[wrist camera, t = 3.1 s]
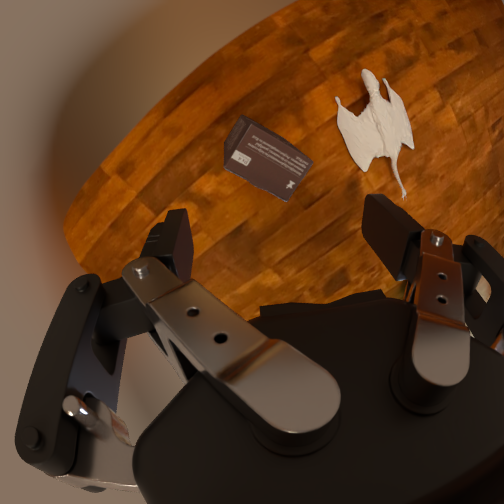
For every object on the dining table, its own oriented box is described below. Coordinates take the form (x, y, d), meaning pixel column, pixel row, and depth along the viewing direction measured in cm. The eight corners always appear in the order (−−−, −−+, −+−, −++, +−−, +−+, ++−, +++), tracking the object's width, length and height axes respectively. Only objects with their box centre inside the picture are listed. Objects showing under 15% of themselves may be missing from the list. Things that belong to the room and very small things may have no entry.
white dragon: (420, 176, 35) (437, 187, 31) (365, 204, 37) (379, 218, 33) (384, 59, 25) (402, 58, 22) (316, 83, 27) (329, 83, 24)
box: (285, 136, 31) (316, 163, 21) (265, 166, 33) (285, 207, 23) (241, 110, 29) (251, 122, 19) (221, 142, 31) (220, 172, 21)
